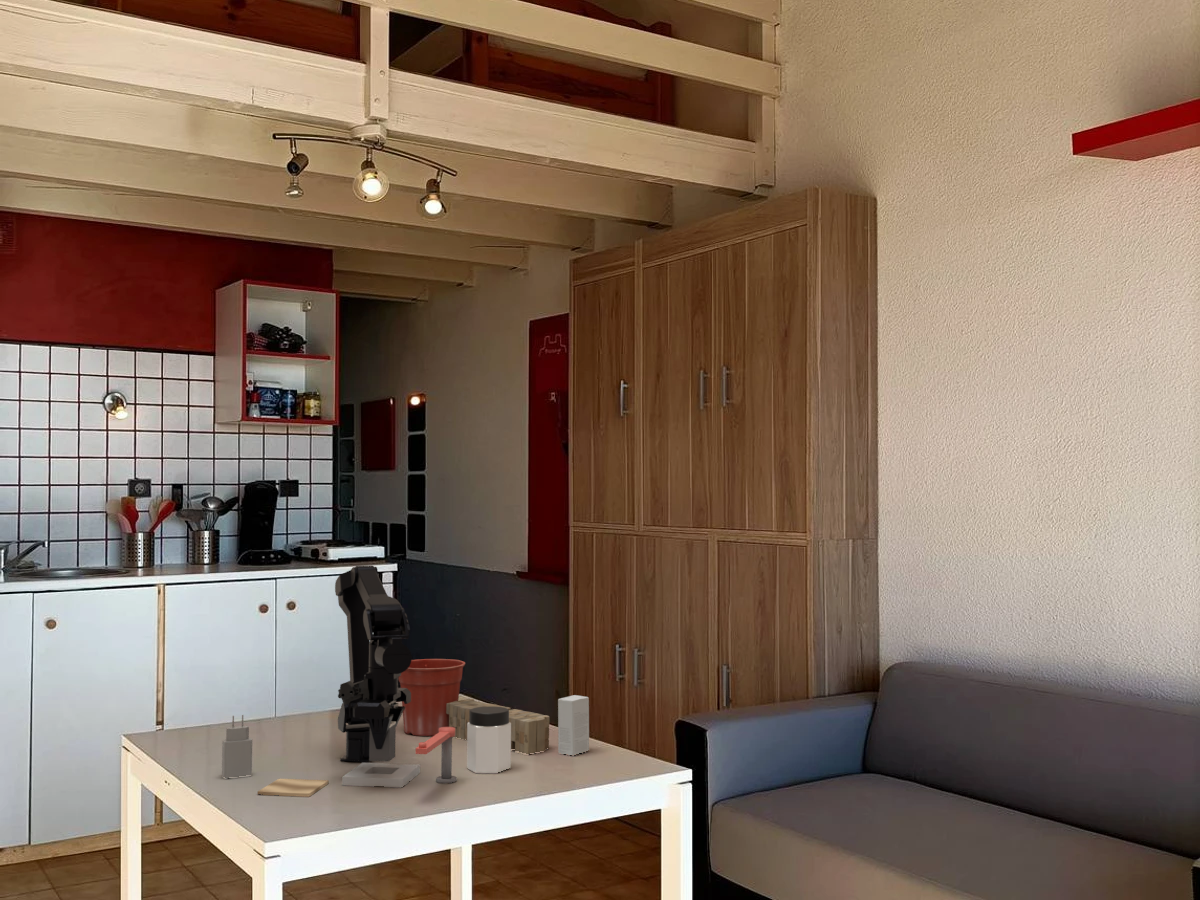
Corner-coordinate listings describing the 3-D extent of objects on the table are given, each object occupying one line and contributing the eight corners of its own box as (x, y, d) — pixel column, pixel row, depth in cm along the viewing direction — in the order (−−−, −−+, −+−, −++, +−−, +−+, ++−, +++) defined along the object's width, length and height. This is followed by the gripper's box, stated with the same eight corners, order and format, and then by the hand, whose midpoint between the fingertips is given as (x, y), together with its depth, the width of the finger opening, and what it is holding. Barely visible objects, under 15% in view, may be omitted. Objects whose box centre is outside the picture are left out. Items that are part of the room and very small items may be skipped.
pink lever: (441, 733, 223) (441, 724, 223) (457, 734, 223) (457, 725, 223) (412, 753, 205) (412, 743, 205) (429, 754, 205) (429, 744, 205)
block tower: (553, 755, 249) (470, 731, 270) (554, 717, 249) (472, 695, 270) (526, 761, 243) (444, 736, 264) (527, 721, 244) (445, 699, 264)
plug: (375, 756, 225) (376, 720, 225) (395, 756, 224) (395, 721, 225) (369, 760, 221) (369, 724, 221) (389, 761, 220) (389, 725, 221)
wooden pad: (279, 781, 220) (279, 778, 220) (328, 783, 219) (328, 780, 219) (257, 794, 210) (257, 791, 210) (309, 796, 209) (309, 793, 209)
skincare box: (574, 749, 250) (574, 694, 250) (589, 752, 247) (589, 696, 248) (557, 754, 245) (557, 698, 246) (572, 757, 242) (573, 700, 243)
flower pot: (380, 731, 268) (381, 663, 269) (434, 721, 280) (435, 656, 281) (424, 741, 257) (424, 670, 258) (478, 731, 269) (479, 663, 270)
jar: (512, 764, 235) (512, 706, 236) (508, 774, 227) (509, 713, 228) (469, 764, 235) (469, 706, 236) (464, 773, 227) (464, 713, 228)
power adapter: (220, 776, 224) (222, 715, 224) (248, 773, 227) (249, 712, 227) (224, 779, 221) (225, 717, 222) (252, 776, 224) (253, 715, 225)
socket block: (362, 770, 229) (363, 727, 230) (463, 774, 227) (464, 730, 227) (341, 785, 217) (342, 740, 218) (448, 789, 215) (449, 743, 215)
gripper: (359, 659, 234) (358, 735, 233) (327, 672, 215) (325, 755, 214) (412, 660, 232) (411, 737, 232) (384, 674, 214) (382, 757, 213)
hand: (382, 746), depth 223 cm, fingers closed on plug, 4 cm apart
